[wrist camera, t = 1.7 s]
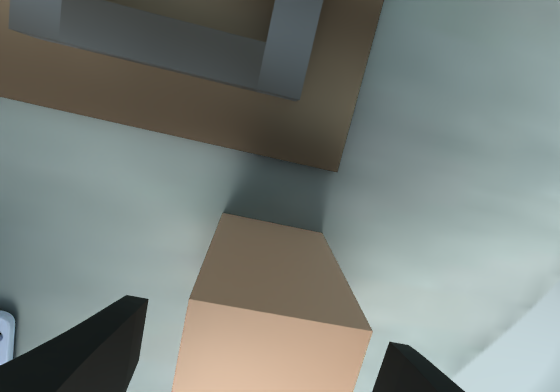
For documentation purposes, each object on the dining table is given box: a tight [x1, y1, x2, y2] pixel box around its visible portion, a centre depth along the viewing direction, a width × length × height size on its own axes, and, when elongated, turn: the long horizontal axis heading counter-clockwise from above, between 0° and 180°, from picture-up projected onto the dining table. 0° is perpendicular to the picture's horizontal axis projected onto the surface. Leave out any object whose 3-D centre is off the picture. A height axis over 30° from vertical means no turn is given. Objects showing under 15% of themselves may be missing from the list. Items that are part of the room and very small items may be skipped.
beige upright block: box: [171, 213, 373, 392], centre depth 12 cm, size 4×4×7 cm
